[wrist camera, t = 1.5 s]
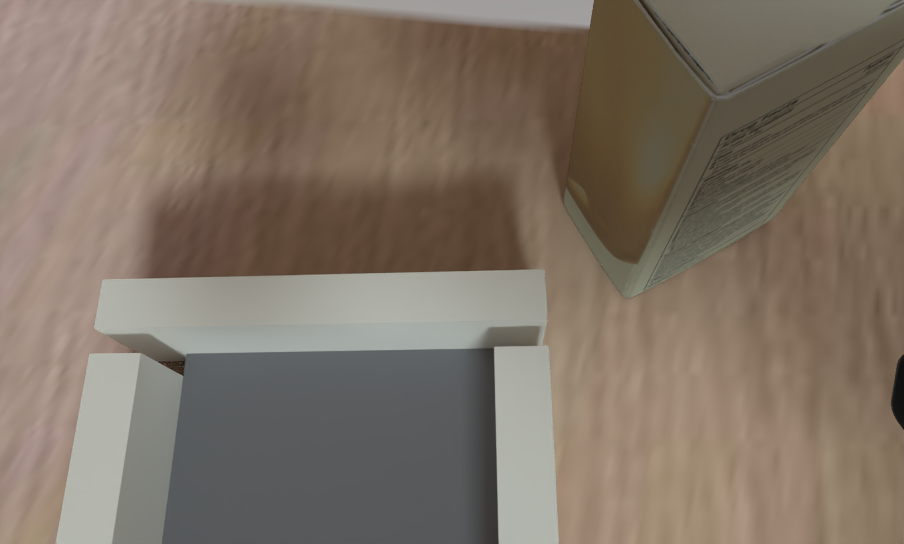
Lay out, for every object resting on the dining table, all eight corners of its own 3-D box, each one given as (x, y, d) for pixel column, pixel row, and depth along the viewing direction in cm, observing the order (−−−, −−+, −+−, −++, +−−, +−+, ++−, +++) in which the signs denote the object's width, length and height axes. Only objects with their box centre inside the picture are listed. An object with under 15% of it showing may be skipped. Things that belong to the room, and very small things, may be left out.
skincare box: (703, 128, 27) (854, -185, 15) (776, 221, 25) (1004, -47, 14) (550, 206, 26) (592, -61, 15) (618, 308, 25) (721, 99, 13)
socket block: (537, 311, 25) (545, 269, 21) (558, 764, 20) (572, 814, 16) (161, 319, 25) (102, 279, 22) (97, 758, 21) (9, 804, 17)
